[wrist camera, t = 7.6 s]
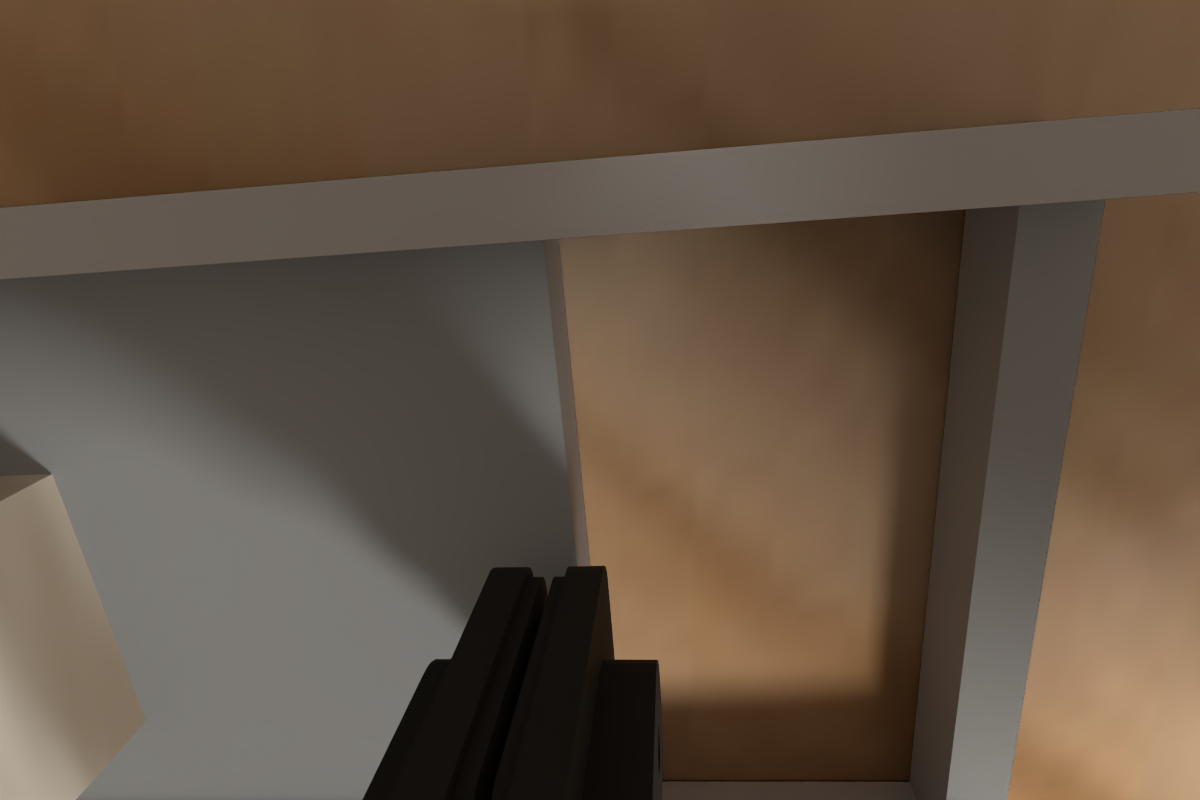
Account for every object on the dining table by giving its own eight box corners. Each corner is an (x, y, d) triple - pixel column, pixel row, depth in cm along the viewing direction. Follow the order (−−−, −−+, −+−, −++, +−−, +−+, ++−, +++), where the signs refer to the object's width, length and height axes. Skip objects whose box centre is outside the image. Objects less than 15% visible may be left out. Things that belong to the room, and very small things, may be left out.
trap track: (1048, 120, 9) (1219, 106, 7) (957, 811, 14) (1036, 980, 11) (-716, 267, 12) (-1128, 301, 9) (-329, 805, 16) (-532, 938, 14)
